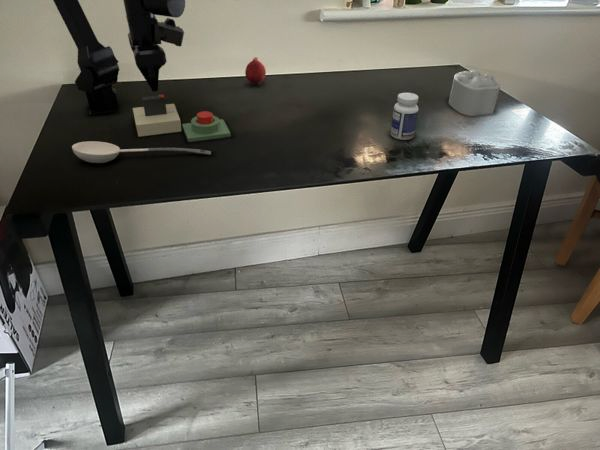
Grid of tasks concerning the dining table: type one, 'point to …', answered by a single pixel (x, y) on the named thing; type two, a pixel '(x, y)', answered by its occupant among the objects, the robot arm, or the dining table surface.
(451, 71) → the dining table surface
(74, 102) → the dining table surface
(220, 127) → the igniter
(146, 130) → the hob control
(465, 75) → the lumpy-topped squat cylinder
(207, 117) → the button
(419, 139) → the dining table surface
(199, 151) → the ladle
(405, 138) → the pill bottle
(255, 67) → the onion
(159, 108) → the hob knob
